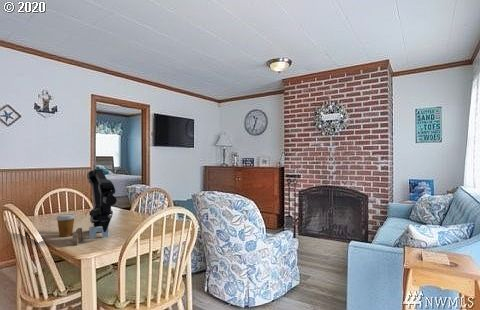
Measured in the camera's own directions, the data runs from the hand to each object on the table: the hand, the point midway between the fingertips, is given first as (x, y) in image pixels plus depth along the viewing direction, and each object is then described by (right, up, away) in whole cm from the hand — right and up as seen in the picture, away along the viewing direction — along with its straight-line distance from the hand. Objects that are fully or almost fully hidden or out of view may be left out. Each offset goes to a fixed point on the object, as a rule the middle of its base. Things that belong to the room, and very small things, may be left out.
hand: (105, 229), depth 168 cm
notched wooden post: (-11, -4, -10) cm, 15 cm away
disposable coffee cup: (-24, -4, +2) cm, 25 cm away
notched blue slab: (-3, -4, -1) cm, 5 cm away
